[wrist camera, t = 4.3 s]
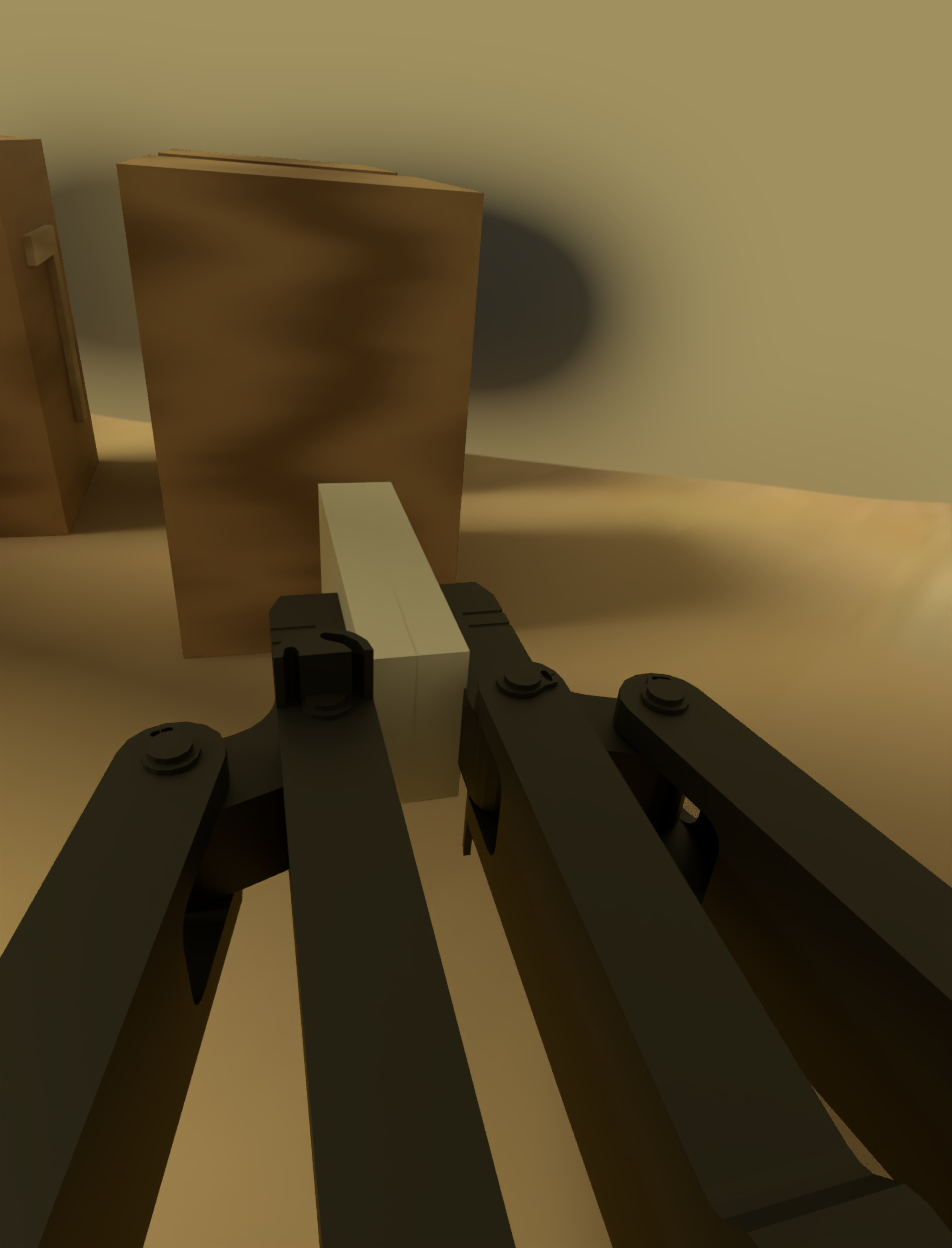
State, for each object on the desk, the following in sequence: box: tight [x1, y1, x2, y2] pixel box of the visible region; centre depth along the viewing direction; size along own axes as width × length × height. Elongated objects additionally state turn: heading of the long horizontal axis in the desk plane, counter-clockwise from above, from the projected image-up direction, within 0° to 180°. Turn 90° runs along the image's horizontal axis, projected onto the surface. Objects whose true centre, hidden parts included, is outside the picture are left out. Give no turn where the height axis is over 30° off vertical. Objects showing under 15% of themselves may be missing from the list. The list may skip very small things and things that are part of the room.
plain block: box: [116, 155, 484, 659], centre depth 27 cm, size 9×9×14 cm
